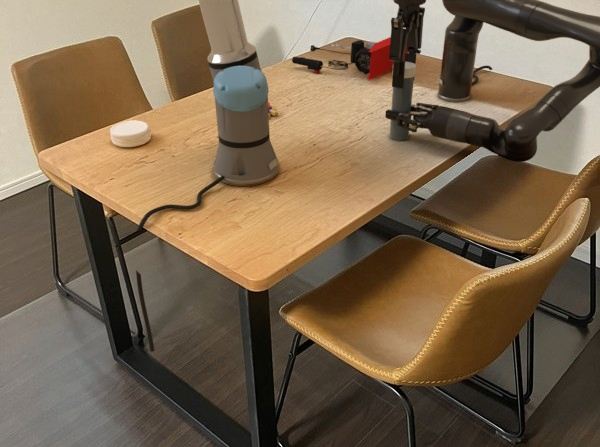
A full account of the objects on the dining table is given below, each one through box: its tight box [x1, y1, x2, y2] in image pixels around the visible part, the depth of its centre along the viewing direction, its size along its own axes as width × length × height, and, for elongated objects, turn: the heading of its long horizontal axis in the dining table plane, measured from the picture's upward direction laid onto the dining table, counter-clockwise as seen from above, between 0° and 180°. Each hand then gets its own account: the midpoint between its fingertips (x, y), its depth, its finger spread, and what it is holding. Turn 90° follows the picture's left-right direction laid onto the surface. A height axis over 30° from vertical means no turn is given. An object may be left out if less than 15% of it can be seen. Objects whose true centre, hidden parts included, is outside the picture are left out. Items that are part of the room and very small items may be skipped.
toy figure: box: [268, 101, 278, 119], centre depth 176 cm, size 2×7×12 cm
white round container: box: [109, 119, 152, 148], centre depth 160 cm, size 10×10×4 cm
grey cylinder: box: [389, 77, 415, 141], centre depth 156 cm, size 5×5×18 cm
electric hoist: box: [291, 36, 409, 81], centre depth 208 cm, size 10×27×30 cm
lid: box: [391, 62, 417, 78], centre depth 152 cm, size 6×6×2 cm
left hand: (403, 83), depth 153 cm, fingers closed on lid, 6 cm apart
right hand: (391, 110), depth 159 cm, fingers closed on grey cylinder, 5 cm apart
